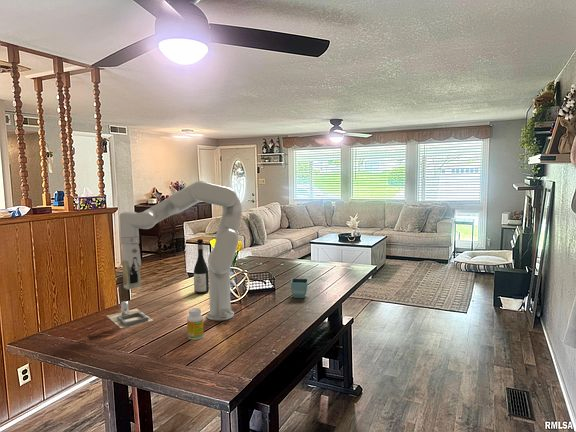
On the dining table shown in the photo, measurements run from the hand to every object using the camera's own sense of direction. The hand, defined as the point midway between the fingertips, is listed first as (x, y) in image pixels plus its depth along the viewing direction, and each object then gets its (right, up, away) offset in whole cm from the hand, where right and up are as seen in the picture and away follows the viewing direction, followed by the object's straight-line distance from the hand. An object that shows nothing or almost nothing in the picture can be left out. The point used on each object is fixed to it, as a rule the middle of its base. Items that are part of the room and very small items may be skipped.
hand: (131, 281), depth 174 cm
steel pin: (-7, -17, +10) cm, 21 cm away
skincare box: (0, -3, 0) cm, 3 cm away
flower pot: (+74, -15, +39) cm, 86 cm away
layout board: (-3, -19, +6) cm, 20 cm away
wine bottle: (+20, -14, +49) cm, 55 cm away
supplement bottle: (+31, -21, -12) cm, 39 cm away
